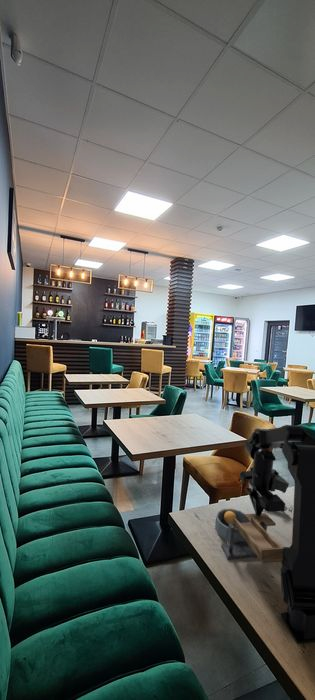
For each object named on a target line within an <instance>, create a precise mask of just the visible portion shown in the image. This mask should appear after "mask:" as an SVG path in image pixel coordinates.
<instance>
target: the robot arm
mask: <svg viewBox="0 0 315 700" xmlns="http://www.w3.org/2000/svg"><path fill="white" fill-rule="evenodd" d="M294 442H295V444H294ZM299 442H300V444H296V443H299ZM290 443H293V444H292V445H291V444H290ZM281 444H283V446H282V450H281V452H282V454H283V456H284V458H285V460H286V462H287V469H288V471H289V474H290V475H291V476H292V479H293V481H294V490H293V491H294V492H293V494H294V495H293V510H292V512H293V514H292V515H293V516H292V535H291V536H292V537H291V544H290V546H289V547H288V546H283V547H284V549H283V560H282V562H281V567H280V586H281V587H280V588H281V594H282V601H283V603H284V604H285V605H287V606H286V607H287V608H286V611H285V612H280V616H281V618H282V620H283V622H284V623H285V625H286V628H288V631H289V632H290V634H291V635H292V637H293V640H294V641H295V642H296V643H298V644H304V643H312V642H315V437H314V436H312V435H310V433H308V431H307V430H306V429H305V427H303V426H301V425H292V424H285V425H282V426H281V427H280V426H278V427H275V428H255V429H254V430H253V432H252V433H251V436H250V437H249V439H247V441H246V442H245V444H244V448H245V451H246V452H247V454H248V455H249V456H250V458H251V459H252V461H253V464H252V466H253V467H250V468H249V469H250V470H242V471H241V472H240V473H239V477H238V478H239V481H240V482H241V483H242V484H243V483H244V484H245V483H246V482H247V481H246V480H248V487H247V488H246V491H247V494H248V496H249V499H250V502H251V504H252V507H253V511H254V514H256V515H257V516H260V515H261V513H263V511H265V512H268V513H269V512H285V511H284V510H285V505H286V503H285V502H284V500H283V499H281V498H280V496H279V495H278V494H273V493H272V492H276V491H279V492H282V493H283V494H285V493H286V492H287V489H288V488H289V487H290V486H289V485H290V483H289V482H288V481H287V480H286V479H284V478H283V477H282V476H280V473H279V471H277V470H276V469H274V468H273V467H274V462H275V461H276V460H277V459H276V456H275V454H274V453H273V451H272V450H269V449H278V448H280V447H281Z"/></svg>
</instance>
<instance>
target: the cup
mask: <svg viewBox="0 0 315 700" xmlns="http://www.w3.org/2000/svg"><path fill="white" fill-rule="evenodd" d="M227 511H232V512H233V513H234V514H235V515H236V519H237V520H238V521H239V523H248V520H247V519H246V518H245V517H244V514H246V513H245V512H243V511H241V510H237V509H235V508H222V509H220V510H219V511H217V513H216V516H215V527H214V529H215V531H216V534H217V535H218V536H219V537H220V538H222V539H223V540H224V541H227V536H228V526H229V524H227V523H226V522H225V520H224V514H225V513H226V512H227ZM233 526H234V524H233ZM234 528H235V526H234ZM235 529H236V528H235ZM237 542H246V541H245V539H244V538H243V537H242V535H241V534H240V533H239V532H236V533H235V532H234V541H233V543H237Z"/></svg>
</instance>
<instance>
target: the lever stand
mask: <svg viewBox="0 0 315 700" xmlns="http://www.w3.org/2000/svg"><path fill="white" fill-rule="evenodd" d="M260 525H261V526H262V527H263V529H264V530H265V531H266V532H268V531H267V530H268V526H266V524H265V523H264V522H260ZM234 530H235V528H234V526H233V524H232V523H229V526H228V536H227V540H226V542H222V543H221V544H220V545H221V546H220V547H221V549H222V551H223V553H224V556H225V557H226V559H227V560H238V559H252V558H258V556H257V555H256V554H255V552H254V551H253V550H252V548H251V547H250V546H249V545H248V543H247V542H237V543H233V541H234Z"/></svg>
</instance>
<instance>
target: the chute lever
mask: <svg viewBox="0 0 315 700" xmlns="http://www.w3.org/2000/svg"><path fill="white" fill-rule="evenodd" d="M244 517H245V518H246V519H247V520H248V523H239V521H238V520H237V519H236V518H234V519H233V523H234V526H235V528H236V529H235V530H234V532H235V533H236V532H239V533H240V534H241V535H242V537H243V538H244V539H245V541H246V542H247V543H248V545H249V546H250V547H251V548H252V550H253V551H254V552H255V554H256V555H257V556H258V557H257V558H258V559H259V560H260V562H261V563H263V564H269V563H271V564H272V563H273V564H274V563H282V560H283V549H284V547H285V546H280V544H279V543H277V541H276V540H275V539H274V538H273V537H272V536H271V535H270V533H268V531H265V530H264V529H263V527H262V526H261V525H260V522H264V523H265V524H266V526H267V527H273V526H276V525H277V524H276V522H275V521H274V520H273V519H272V518H271V517H270V516H269V515H268V514H267V513H265V512H262V513H261V515H260V516H257V515H256V513H245V514H244Z"/></svg>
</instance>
